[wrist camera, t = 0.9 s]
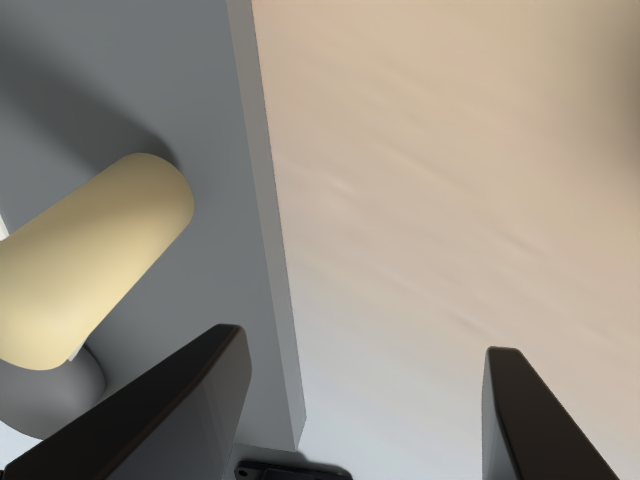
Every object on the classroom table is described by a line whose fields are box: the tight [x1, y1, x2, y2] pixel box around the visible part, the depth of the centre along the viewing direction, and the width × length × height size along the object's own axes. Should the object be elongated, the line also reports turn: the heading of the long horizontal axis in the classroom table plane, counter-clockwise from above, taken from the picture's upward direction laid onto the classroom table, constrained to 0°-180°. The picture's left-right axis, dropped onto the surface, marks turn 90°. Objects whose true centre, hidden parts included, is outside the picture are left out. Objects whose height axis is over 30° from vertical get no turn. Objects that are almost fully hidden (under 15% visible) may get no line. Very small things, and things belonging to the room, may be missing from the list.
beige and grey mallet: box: [0, 153, 194, 440], centre depth 18 cm, size 16×5×7 cm, turn 145°
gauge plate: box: [0, 0, 306, 452], centre depth 21 cm, size 24×22×2 cm
